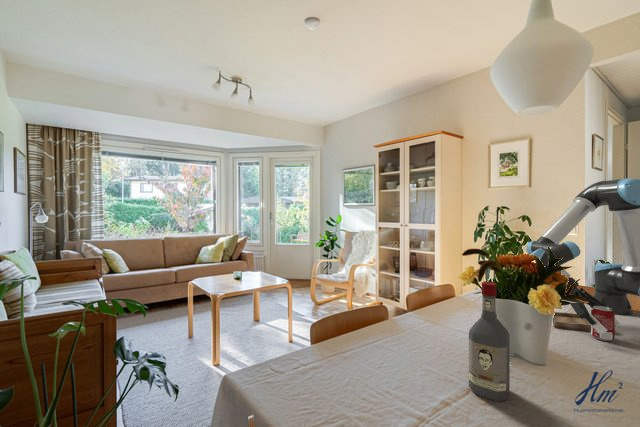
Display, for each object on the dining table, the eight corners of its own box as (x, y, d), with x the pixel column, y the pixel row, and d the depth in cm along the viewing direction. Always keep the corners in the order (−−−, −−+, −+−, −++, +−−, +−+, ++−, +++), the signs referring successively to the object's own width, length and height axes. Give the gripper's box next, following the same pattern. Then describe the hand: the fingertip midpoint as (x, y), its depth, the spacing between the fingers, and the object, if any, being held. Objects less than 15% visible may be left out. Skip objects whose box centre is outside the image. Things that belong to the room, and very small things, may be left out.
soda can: (616, 344, 113) (616, 312, 113) (591, 339, 117) (591, 308, 117) (613, 338, 118) (613, 307, 118) (589, 333, 122) (590, 304, 122)
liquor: (474, 378, 91) (474, 278, 91) (510, 389, 85) (510, 282, 85) (466, 392, 84) (466, 284, 84) (505, 405, 78) (505, 289, 78)
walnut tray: (593, 320, 137) (593, 315, 137) (613, 333, 122) (613, 327, 122) (541, 316, 143) (541, 310, 143) (554, 327, 129) (554, 321, 129)
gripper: (567, 282, 137) (612, 326, 124) (541, 290, 124) (588, 340, 111) (582, 273, 132) (630, 317, 120) (557, 280, 119) (608, 331, 107)
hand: (610, 328), depth 116 cm, fingers open, 13 cm apart
